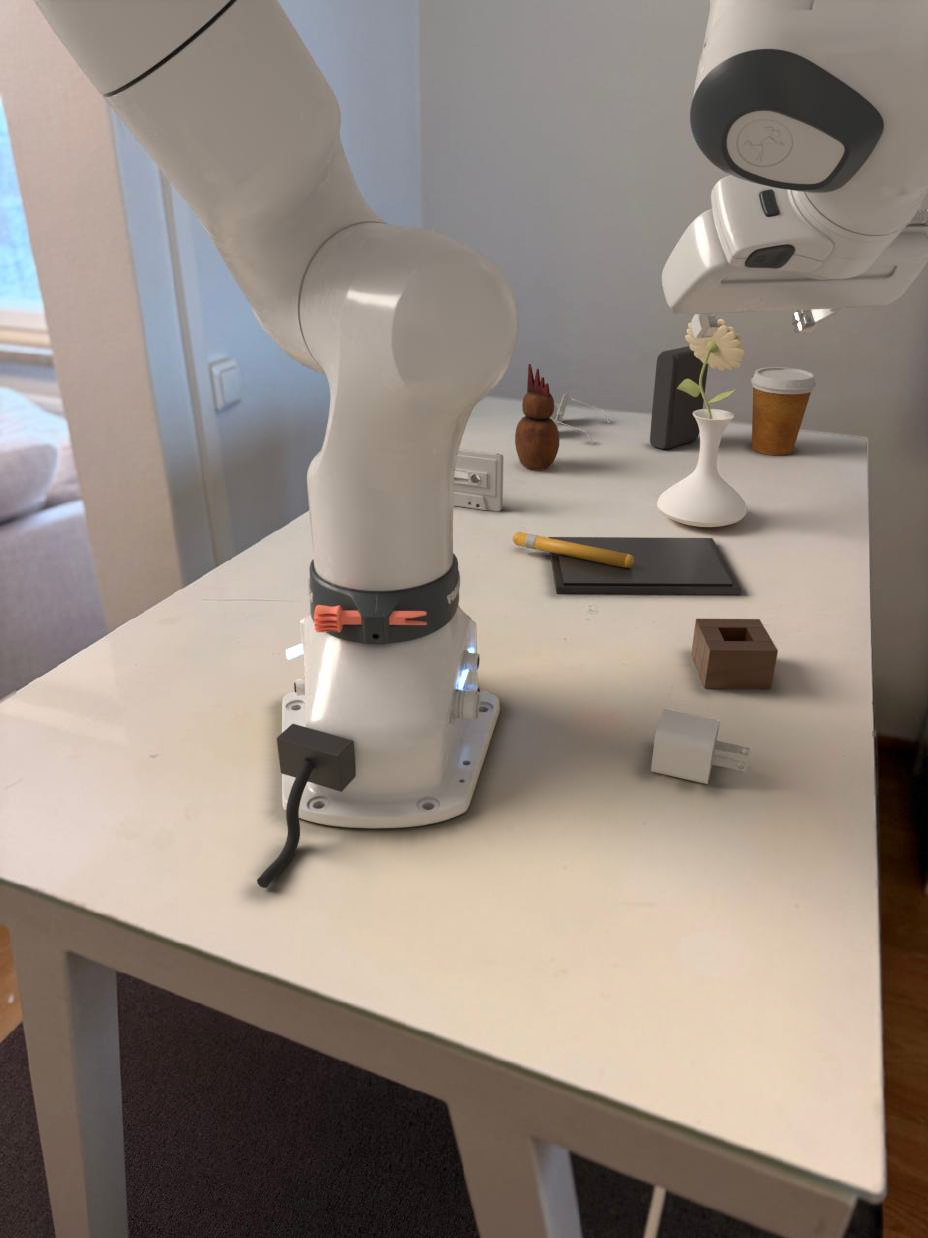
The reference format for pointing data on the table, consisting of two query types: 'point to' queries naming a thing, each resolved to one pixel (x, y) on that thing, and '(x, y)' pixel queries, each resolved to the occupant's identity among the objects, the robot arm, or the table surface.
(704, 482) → the flower in vase
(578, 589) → the tablet
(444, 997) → the table surface
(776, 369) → the disposable coffee cup
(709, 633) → the pen holder
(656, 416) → the card reader
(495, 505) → the cassette
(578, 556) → the stylus
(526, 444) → the wooden figurine
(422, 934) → the table surface
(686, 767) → the usb wall charger
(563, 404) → the clear eyeglasses
